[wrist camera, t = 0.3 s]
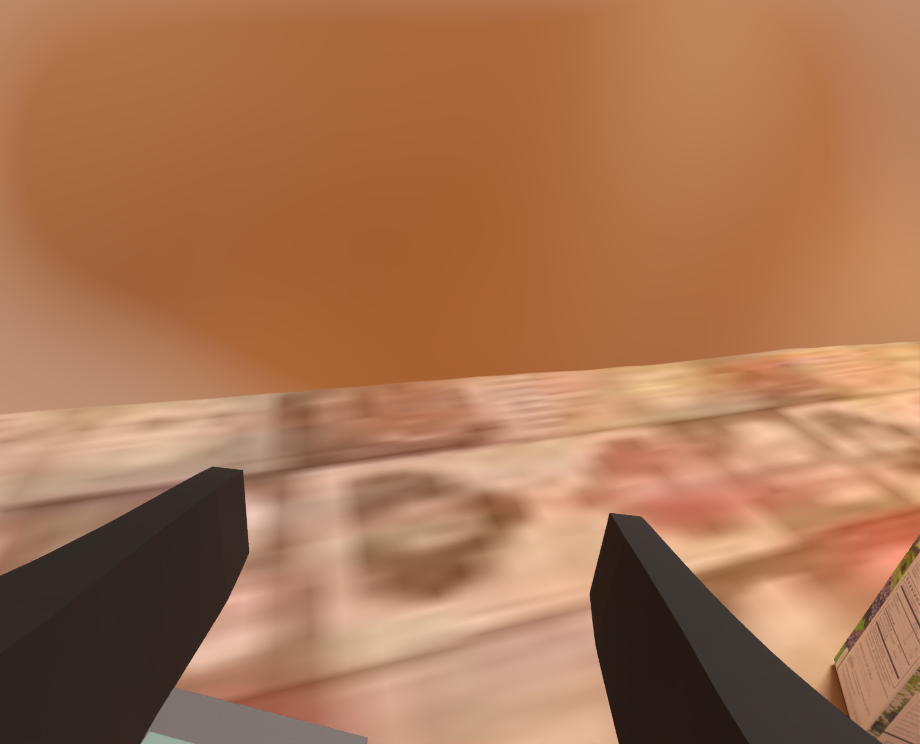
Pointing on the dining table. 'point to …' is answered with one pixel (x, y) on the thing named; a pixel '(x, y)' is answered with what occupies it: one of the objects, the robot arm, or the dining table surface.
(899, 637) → the syrup box
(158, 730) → the control panel
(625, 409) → the dining table surface
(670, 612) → the robot arm
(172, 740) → the pale green slider knob
